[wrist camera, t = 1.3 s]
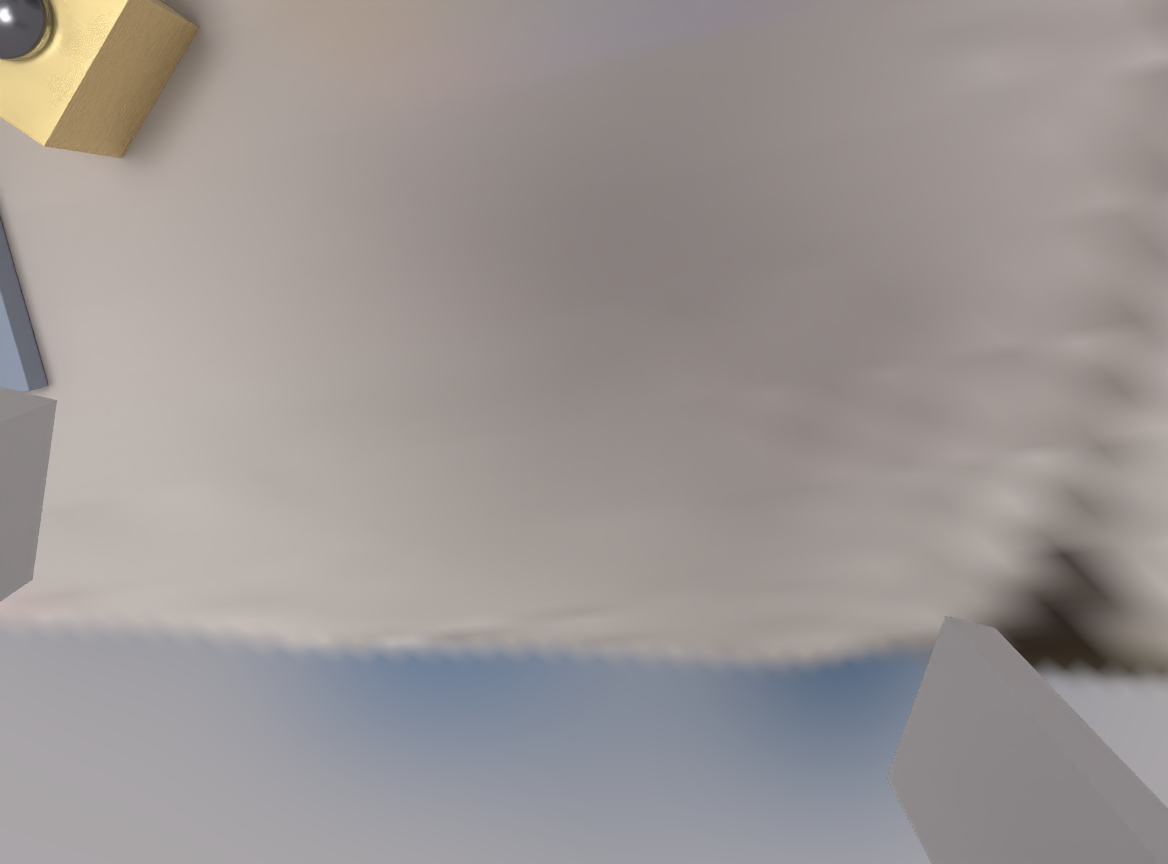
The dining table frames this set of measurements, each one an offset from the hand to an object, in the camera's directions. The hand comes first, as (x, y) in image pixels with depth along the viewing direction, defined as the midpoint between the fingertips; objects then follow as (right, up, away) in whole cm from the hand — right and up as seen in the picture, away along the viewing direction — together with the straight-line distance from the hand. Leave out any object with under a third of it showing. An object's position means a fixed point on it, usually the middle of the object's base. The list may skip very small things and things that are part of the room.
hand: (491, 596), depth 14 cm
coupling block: (-15, +15, +18) cm, 28 cm away
